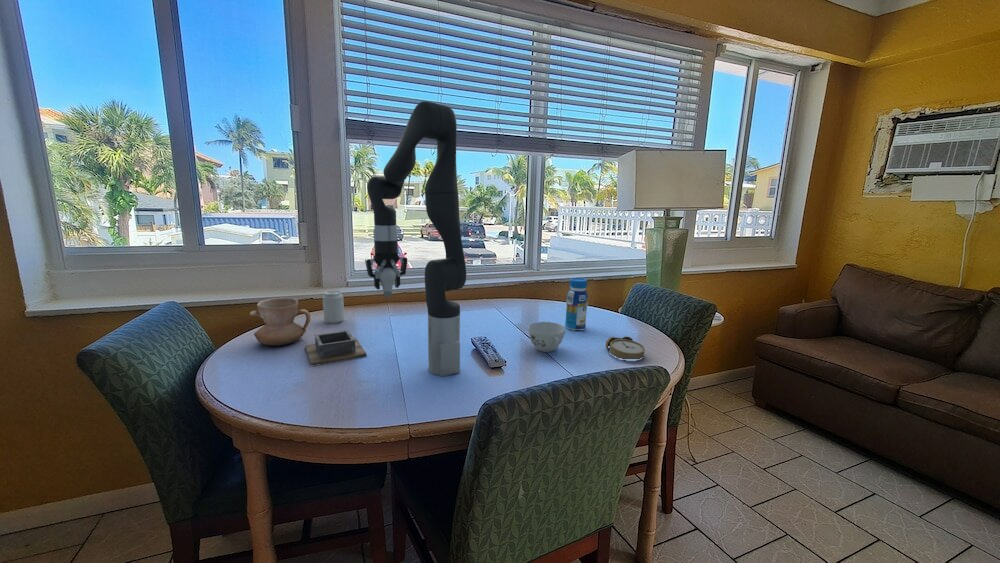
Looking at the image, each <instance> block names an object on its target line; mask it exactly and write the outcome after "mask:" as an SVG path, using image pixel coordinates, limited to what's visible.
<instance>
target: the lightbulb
mask: <svg viewBox="0 0 1000 563" xmlns="http://www.w3.org/2000/svg"><path fill="white" fill-rule="evenodd" d="M395 279H396V272H395V271H394V269H393V268H384V269H383V270H382V272H381V273H380V276H379V280H380V284H381V286H382V291H383V296H384V297H385V298H386V299H390V298H391V297H392V295H393V294H392V293H393V292H392V291H393V287H394V286H393V285H394V284H395Z"/></svg>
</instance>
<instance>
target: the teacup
mask: <svg viewBox="0 0 1000 563" xmlns="http://www.w3.org/2000/svg"><path fill="white" fill-rule="evenodd" d="M527 328H528V336H529V339H530V341H531V343H532V344H533V346H534V347H535V348H536V349H537V350H538V351H540V352H544V353H550V352H554V351H556V350H558V349H559V348H560V344H562V342H563V339H564V338H565V337H564V336H565V334H566V327H565V325H563V324H561V323H556V322H551V321H538V322H534V323H531V324H530V325H528V327H527Z"/></svg>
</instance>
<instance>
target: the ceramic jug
mask: <svg viewBox="0 0 1000 563" xmlns="http://www.w3.org/2000/svg"><path fill="white" fill-rule="evenodd" d="M256 305H257V306H256V307H257V310H252V311H250V313H249V315H250V316H251V317H253V316H257V317H260V318H261V319H262V321H263V322H264V323H265V324H264V325H262V326H261V327H260V328H259V329H258V330H257V331H255V332H254V333H253V335H254V337H255V339H256V341H257V342H259V344H262V345H265V346H270V347H271V346H272V347H275V346H276V347H277V346H286V345H289V344H292V343H294V342H296V341H297V342H298V340H300V339H301V338H302V337H303V336H304V335H305V333H306V331H307V328H308V326H309V324H310V321H311V314H310V312H309V310H307V309H303V308H301V309H298V308H299V300H298V299H297V298H293V297H274V298H269V299H264V300H263V299H262V300H261V301H259V302H258V303H257V304H256ZM299 314H304V315H305V323H304V325H303V326H302V325H300V323H298V322H295V318H296V317H297V316H298V315H299Z"/></svg>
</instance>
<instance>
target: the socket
mask: <svg viewBox="0 0 1000 563" xmlns="http://www.w3.org/2000/svg"><path fill="white" fill-rule="evenodd" d="M305 351H306V353H307V356H308V359H309V360H308V361H309V363H310V366H311V365H315V366H318V365H317V364H320V365H325V364H324V363H326V364H331V363H330V362H332V363H336V361H338V362H344V361H348V360H349V361H350V360H354V359H360V358H364V357H367V352H366V350H365V348H363V346H362V345H361V343H360V342H359V340H358V339H357V337H353V335H352V333H351V332H350V330H341V331H334V332H328V333H321V334H320V333H319V334H314V343H311V344H306V345H305Z"/></svg>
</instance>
